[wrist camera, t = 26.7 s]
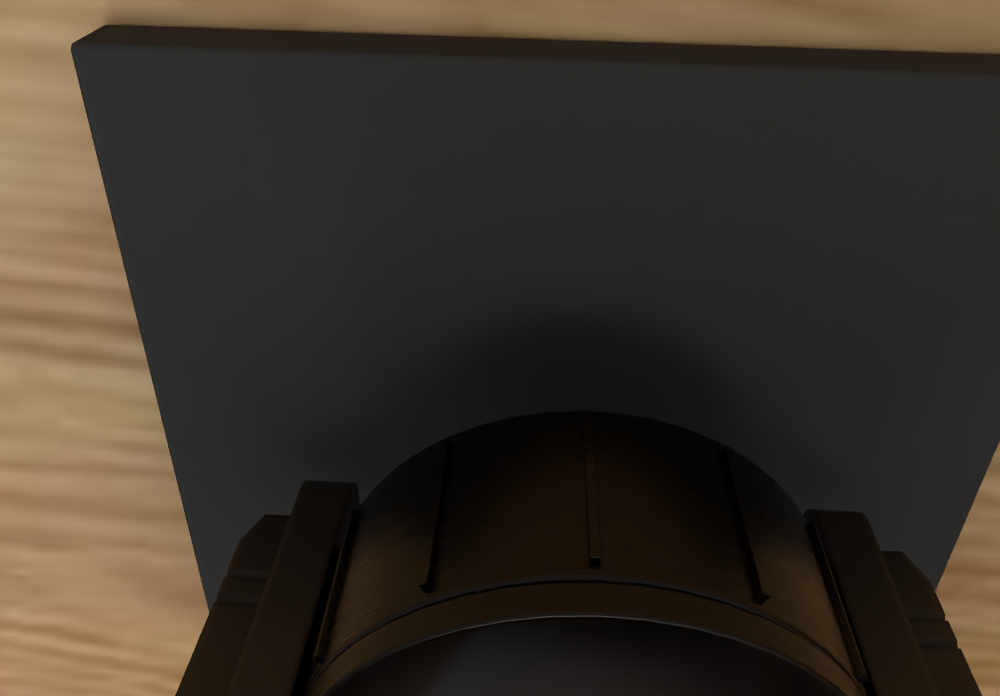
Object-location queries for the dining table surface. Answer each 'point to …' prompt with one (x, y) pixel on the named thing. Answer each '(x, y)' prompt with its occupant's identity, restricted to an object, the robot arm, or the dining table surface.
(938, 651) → the robot arm
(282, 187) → the mat
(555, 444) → the jar lid
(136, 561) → the dining table surface
